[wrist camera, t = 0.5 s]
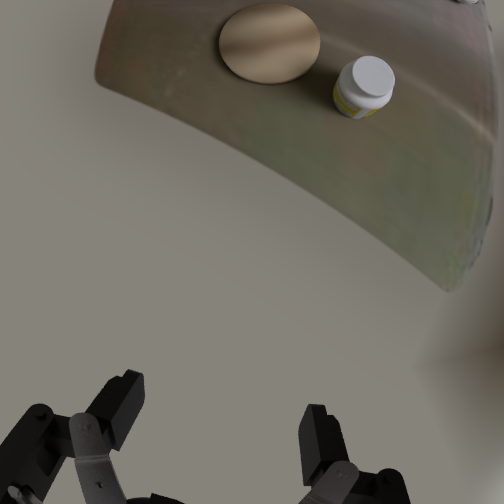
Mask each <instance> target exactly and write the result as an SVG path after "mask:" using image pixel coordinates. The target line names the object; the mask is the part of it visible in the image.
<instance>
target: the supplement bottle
mask: <svg viewBox="0 0 504 504" xmlns="http://www.w3.org/2000/svg"><path fill="white" fill-rule="evenodd" d="M394 83H395V78H394V74H393V71H392V69H391V68H390V67H389V65H388V64H387V63H386V62H384V61H383V60H381V59H379V58H377V57H374V56H363V57H361V58H359V59H357V60H354V61H351V62H349V63H348V64H346V65H345V66H344V68H343V69H342V71H341V72H340V75H339V77H338V79H337V82H336V84H335V86H334V89H333V101H334V104H335V106H336V107H337V109H338V110H339V111H340V112H341V113H342V114H344V115H345V116H347V117H350V118H354V119H362V118H365V117H367V116H369V115H371V114H372V113H374V112H375V111H377V110H378V109H380V108H381V107H383V106H384V105H385V104H386V103H387V102H388V101H389V100H390V98H391V95H392V89H393V86H394Z"/></svg>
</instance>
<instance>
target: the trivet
mask: <svg viewBox="0 0 504 504" xmlns="http://www.w3.org/2000/svg"><path fill="white" fill-rule="evenodd" d="M219 48H220V53H221V56H222V58H223V60H224V61H225V63H226V64H227V65H228V67H229V68H230V69H231V70H232V71H233V72H234V73H235V74H236V75H238V76H239V77H241V78H243V79H245V80H247V81H249V82H252V83H256V84H261V85H279V84H284V83H288V82H291V81H293V80H295V79H298V78H299V77H301V76H302V75H304V74H305V73H306V72H308V71H309V70H310V68H311V67H312V66H313V65H314V63H315V61H316V59H317V57H318V53H319V48H320V36H319V32H318V30H317V27H316V26H315V24H314V22H313V21H312V20H311V19H310V18H309V17H308V16H307V15H306V14H304V13H303V12H302V11H300V10H298V9H296V8H294V7H291V6H289V5H285V4H280V3H261V4H256V5H252V6H249V7H247V8H245V9H243V10H241V11H239V12H237V13H236V14H235V15H233V16H232V17H231V18H230V19H229V20H228V21H227V23H226V24H225V26H224V27H223V29H222V31H221V34H220V39H219Z"/></svg>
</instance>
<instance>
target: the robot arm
mask: <svg viewBox="0 0 504 504" xmlns="http://www.w3.org/2000/svg"><path fill="white" fill-rule="evenodd" d="M144 399H145V391H144V376H143V374H142V373H139V372H136V371H133V370H129V369H128V370H127V371H126V372H125V374H124V375H123V377H119V376H115V377H113V378H112V379H110V380H108V382H107V383H106V384H105V386H104V388H102V390H101V391H100V393H99V394H98V395H97V396H96V398H95V399H94V400H93V402H92V403H91V405H90V406H89V407H88V409H87V410H86V411H85V412H84V413H77V414H75V415H73V416H72V417H65V416H60V415H56V414H54V413H53V411H52V409H51V408H50V407H49V406H47V405H45V404H34V405H32V406H31V407H30V408H29V409H28V410H27V411H26V413H25V414H24V415H23V416H22V418H21V419H20V420H19V421H18V423H17V424H16V425H15V427H14V428H13V429H12V430H11V432H10V433H9V434H8V436H7V437H6V438H5V440H4V441H3V443H2V444H1V445H0V504H43V501H44V499H45V497H46V495H47V492H48V491H49V489H50V487H51V485H52V483H53V481H54V479H55V477H56V475H57V473H58V472H59V470H60V468H61V466H62V464H63V462H64V460H65V459H66V457H72V458H76V459H75V467H76V471H77V474H78V478H79V482H80V485H81V488H82V491H83V495H84V498H85V501H86V504H184V503H182V502H180V501H178V500H175V499H171V498H168V497H164V496H160V495H157V494H154V493H152V494H151V497H150V498H147V497H145V498H144V497H140V498H132V499H128V500H127V499H126V497H125V495H124V493H123V490H122V488H121V486H120V484H119V481H118V479H117V476H116V473H115V471H114V468H113V466H112V462H111V460H110V457H109V453H110V451H111V449H114V450H117V451H119V450H120V448H121V446H122V444H123V442H124V441H125V439H126V437H127V434H128V433H129V431H130V429H131V427H132V425H133V423H134V421H135V419H136V418H137V416H138V414H139V412H140V410H141V408H142V406H143V403H144ZM298 432H299V434H298V435H299V445H300V454H301V463H302V474H303V484H304V486H311V491H310V492H309V493H308V494H307V495H306V496H305V497H304V498H303V499H302V500H301V501H300V502H299V504H411V503H410V499H409V496H408V493H407V489H406V486H405V483H404V480H403V477H402V475H401V473H400V472H398V471H397V470H395V469H390V468H387V469H383V470H381V471H380V472H379V473H378V474H374V473H367V472H362V471H359V470H358V468H357V467H356V466H355V465H354V464H353V463H351V462H350V461H349V458H348V454H347V450H346V446H345V443H344V439H343V435H342V432H341V428H340V424H339V422H338V420H337V419H336V418H335V417H334V416H333V415H327V412H326V408H325V405H317V404H309V405H308V406H307V408H306V411H305V413H304V416H303V418H302V420H301V423H300V426H299V431H298Z"/></svg>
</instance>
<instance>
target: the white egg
mask: <svg viewBox="0 0 504 504" xmlns="http://www.w3.org/2000/svg"><path fill="white" fill-rule="evenodd" d="M457 1H459V2H461V3H463V4H467V5H472V4H476V3H478V0H457Z"/></svg>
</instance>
